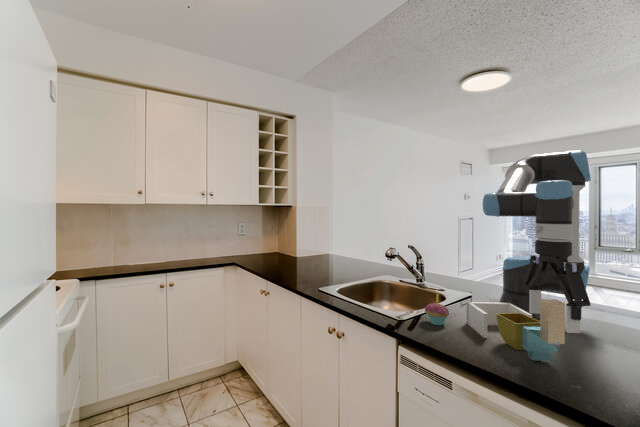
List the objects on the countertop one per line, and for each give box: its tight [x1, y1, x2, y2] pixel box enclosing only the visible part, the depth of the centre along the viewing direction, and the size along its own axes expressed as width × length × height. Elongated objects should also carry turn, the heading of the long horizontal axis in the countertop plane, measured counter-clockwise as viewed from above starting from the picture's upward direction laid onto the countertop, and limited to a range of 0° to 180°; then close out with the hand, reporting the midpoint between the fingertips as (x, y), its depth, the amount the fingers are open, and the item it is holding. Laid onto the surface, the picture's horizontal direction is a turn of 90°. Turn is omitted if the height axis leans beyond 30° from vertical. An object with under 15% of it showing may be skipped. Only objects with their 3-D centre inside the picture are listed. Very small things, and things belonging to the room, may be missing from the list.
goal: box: [466, 301, 532, 339], centre depth 101 cm, size 15×12×8 cm
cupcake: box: [424, 292, 450, 326], centre depth 108 cm, size 9×8×12 cm
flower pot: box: [496, 313, 540, 351], centre depth 89 cm, size 9×9×9 cm
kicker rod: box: [523, 298, 566, 362], centre depth 77 cm, size 8×7×18 cm
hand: (552, 321), depth 75 cm, fingers open, 12 cm apart
